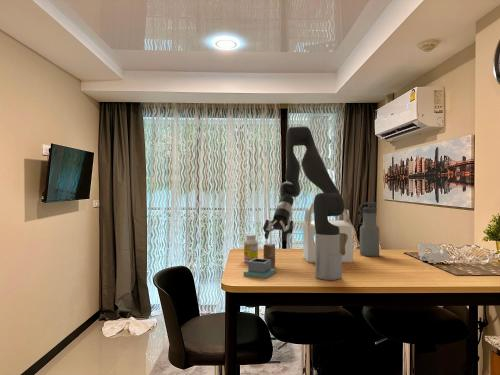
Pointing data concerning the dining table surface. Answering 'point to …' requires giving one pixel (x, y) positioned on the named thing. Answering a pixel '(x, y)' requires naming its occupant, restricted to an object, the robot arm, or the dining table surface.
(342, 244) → the gable box
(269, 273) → the plate
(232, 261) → the dining table surface
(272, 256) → the rail post
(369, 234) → the water bottle
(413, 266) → the dining table surface
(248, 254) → the supplement bottle
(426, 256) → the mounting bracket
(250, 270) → the square socket frame
